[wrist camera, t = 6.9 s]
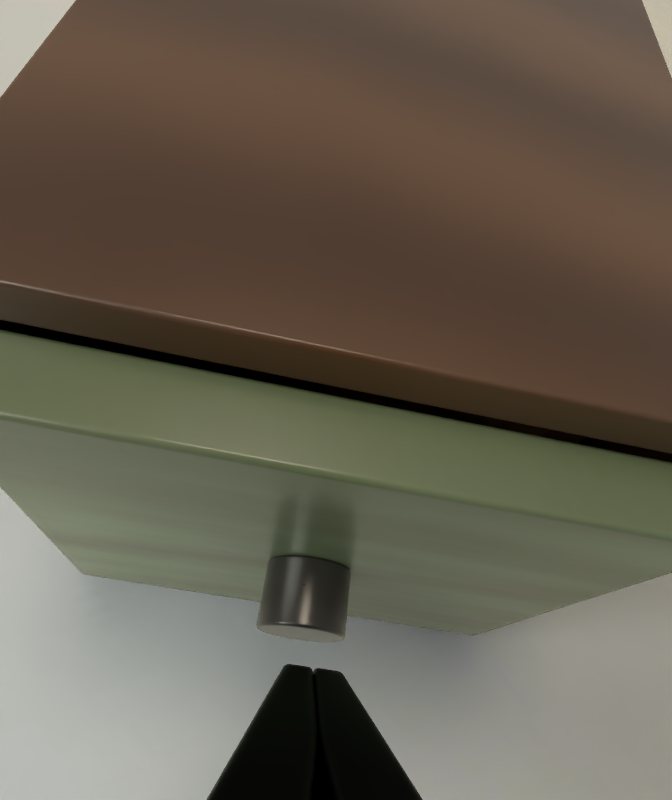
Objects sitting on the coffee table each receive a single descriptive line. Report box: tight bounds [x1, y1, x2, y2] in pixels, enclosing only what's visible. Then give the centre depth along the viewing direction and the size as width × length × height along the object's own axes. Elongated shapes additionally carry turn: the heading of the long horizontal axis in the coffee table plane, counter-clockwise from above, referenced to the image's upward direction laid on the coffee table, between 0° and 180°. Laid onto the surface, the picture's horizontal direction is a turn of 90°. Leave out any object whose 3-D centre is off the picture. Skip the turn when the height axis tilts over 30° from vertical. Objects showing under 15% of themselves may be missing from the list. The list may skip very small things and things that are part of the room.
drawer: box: [0, 330, 672, 642], centre depth 13 cm, size 14×10×9 cm
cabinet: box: [0, 0, 672, 463], centre depth 15 cm, size 14×12×11 cm
